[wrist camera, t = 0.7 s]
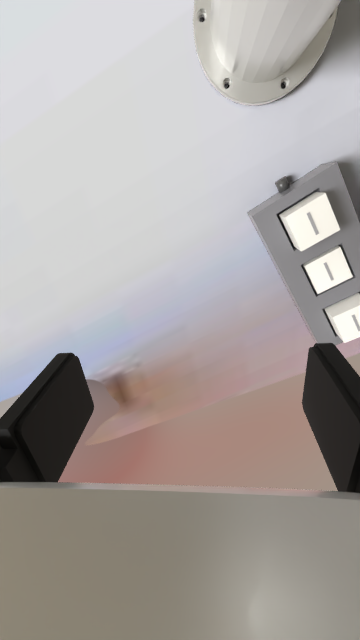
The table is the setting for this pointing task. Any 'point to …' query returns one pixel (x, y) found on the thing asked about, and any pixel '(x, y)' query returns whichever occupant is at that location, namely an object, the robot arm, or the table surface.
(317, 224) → the button
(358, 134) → the table surface
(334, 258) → the middle button
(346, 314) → the button
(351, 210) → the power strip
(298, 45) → the robot arm
